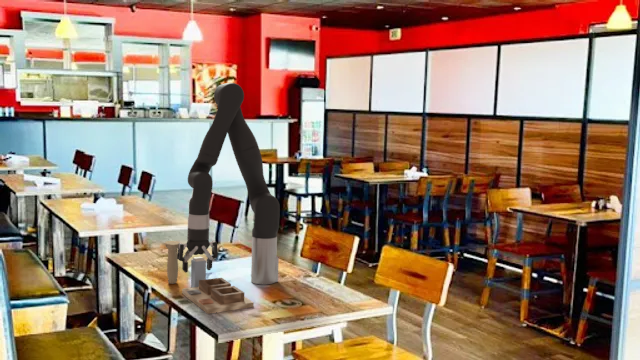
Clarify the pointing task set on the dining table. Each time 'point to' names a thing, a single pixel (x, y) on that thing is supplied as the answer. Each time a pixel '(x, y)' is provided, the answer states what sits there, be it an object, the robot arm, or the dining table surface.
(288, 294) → the dining table surface
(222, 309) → the socket board
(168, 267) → the handle
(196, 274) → the plug
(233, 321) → the dining table surface
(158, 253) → the dining table surface
